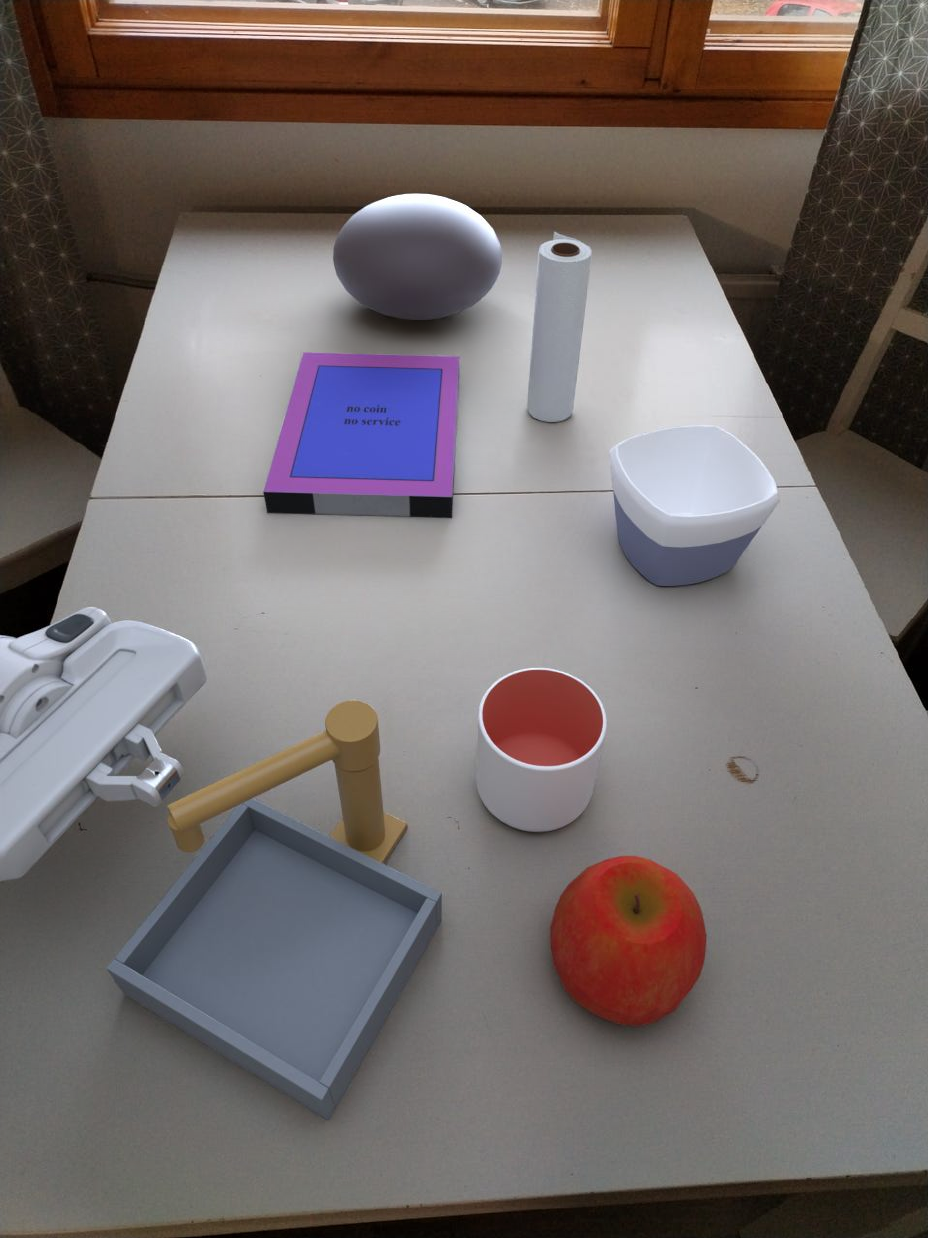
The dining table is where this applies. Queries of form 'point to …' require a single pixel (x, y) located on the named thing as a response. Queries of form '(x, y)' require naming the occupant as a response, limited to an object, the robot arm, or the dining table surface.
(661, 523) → the bowl
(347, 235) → the smooth stone
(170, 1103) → the dining table surface
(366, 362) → the book
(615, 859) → the apple
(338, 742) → the spout
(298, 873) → the sink
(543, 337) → the paper towel roll
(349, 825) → the faucet base
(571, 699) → the cup
